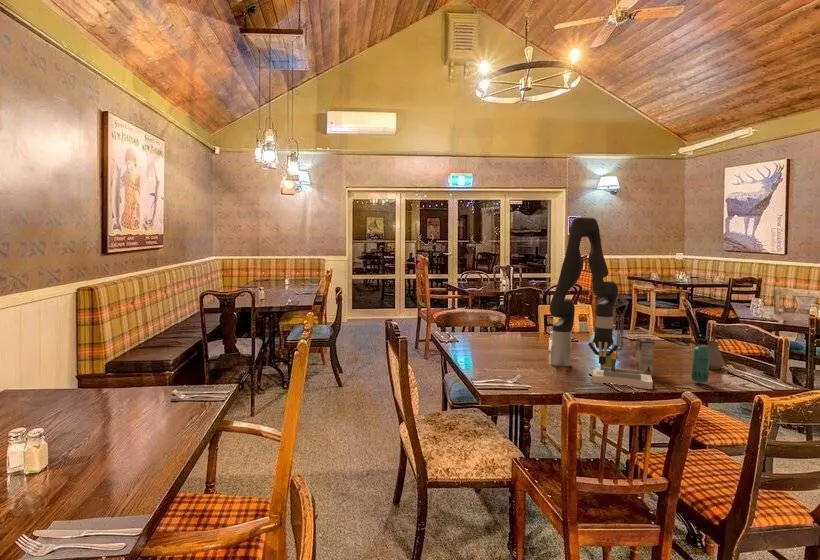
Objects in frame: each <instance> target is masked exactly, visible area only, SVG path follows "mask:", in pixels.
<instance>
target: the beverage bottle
mask: <svg viewBox="0 0 820 560" xmlns="http://www.w3.org/2000/svg"><path fill="white" fill-rule="evenodd" d="M696 341H697V342H696V343H697V344H700V345H702V346H698V345H695V346H694V348H693V358H692V368H691V380H692V381H693V382H698V383H708V381H709V371H710V369H709V357H710V349H709V348H708V347H706V345H708V341H709V340H708V339H705V338H698V339H697V340H696ZM704 346H705V347H704Z"/></svg>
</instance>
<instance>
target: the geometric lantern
mask: <svg viewBox="0 0 820 560" xmlns="http://www.w3.org/2000/svg"><path fill="white" fill-rule="evenodd" d="M604 298H605V297H602V298H600V297H599V298H598V300H597V301H596V302H597V304H598V303H600V302H602V301H603V300H604ZM618 299H619V300H618ZM629 303H630V301H629V300H627V299H626V298H624V297H623V296H621V295H620V293H618V295H617V298H616V301H615V304H614V307H613V312H615V313H613V319H614V318H615V319H617V335H616V337H617V338H616V345H618V348H617V349H616V350H615V351H614V352H617V353H619V352H621V351H622V350H623V348H624V323H625V322H624V316H625V313H626V312H627V309H628V306H629ZM623 306H625V308H624V309H623V312H621V311H620V310H619V308H620V307H623ZM616 309H617V310H618V312H619V314H618V313H617V311H616ZM621 313H622V314H621ZM619 316H620V317H619ZM619 347H620V348H619ZM595 349H596V350H599V348H598V347H597V346H596V345H595ZM611 349H612V347H609V348H608V349H607V351H610V350H611ZM602 351H604V349H602Z"/></svg>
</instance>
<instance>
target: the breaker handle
mask: <svg viewBox="0 0 820 560" xmlns="http://www.w3.org/2000/svg"><path fill="white" fill-rule="evenodd" d="M615 362H616V363H617V360H616V351H614V352H613V353H612V363H611V369H609V371H610V372H617V370H615V368H616V364H615Z"/></svg>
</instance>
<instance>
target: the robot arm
mask: <svg viewBox="0 0 820 560" xmlns="http://www.w3.org/2000/svg"><path fill="white" fill-rule="evenodd" d="M568 235H569V236H568V241H567V247H566V250H565V255H564V259H563V262H562V265H561V269H560V272H559V273H560V274H559V277H558V281H557V284H556V288H555V290H554V293H553V296H552V298H551V300H550V304H549V312H550V313H549V314H550V315H551V316H552V318H553V317H554V318H559V320H558V321H557V322H555V323H553V324H552V332H551V346H550V365H551V366H552V365H553V366H556V367H570V366H571V354H572V335H573V334H572V331H573V327H574V320H575V308H576V307H575V303H574V301H573V300H572V299H571V298H568V297H567V298H566V296H567V294H568V292H569V291H570V290H571V289H572V287H574V285H575V284H576V283H577V282H578V281H579V279H580V277H581V276H582V275H581V274H582V270H583V267H584V261H583V257H582V253H581V251H580V250H581V249H580V246H581V240H582V238H587V239H588V240H589V244H590V248H589V249H590V250H589V254H588V259H587V260H588V261H587V262H588V266H589V270H590V272H591V277H592V292H593V294H594V295H595V296H596V297H597V298H599V299H600V298H601V299H602V297H603V298H604V297H605V298H604V300H602V302H600V303H598V302H597V304H596V308H595V311H596V312H595V320H594V337H593V339H592V341H589V342H588V344H587V345H588V347H589V348H590V349H591V351H592V352H593V353H594V355H597V356H598V364H599V365H604V364H605V363H606V356H610V355H611V354H612V353H613V352H616V351H617V350H616V349H617V348H618V349H619V346H618V345H617V343H615V342H614V339H613V336H614V318H613V317H614V315H613V314H614V309H613V307H614V306H615V305H614V304H616V302H615V301H617V300H616V298H617V299H618V296H617V295H618V294H619V286H618V284H617V283H616V282H614V281H609V280H608V281H605V280H604V278H606V277H608V276H609V268H608V265H607V263H606V260H605V256H604V253H603V246H602V238H601V234H600V227H599V223H598V221H597V219H596V218H594V217H591V216H577V217H575V218H573V219H572V222H571V225H570V228H569V234H568ZM614 308H615V307H614ZM596 346H597V348H598V349H597V348H596ZM608 348H611V350H607V349H608ZM602 349H603V351H604V352H603V356H602ZM615 350H616V351H615ZM598 351H599V352H598ZM607 351H609V352H608V353H606V352H607Z"/></svg>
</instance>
